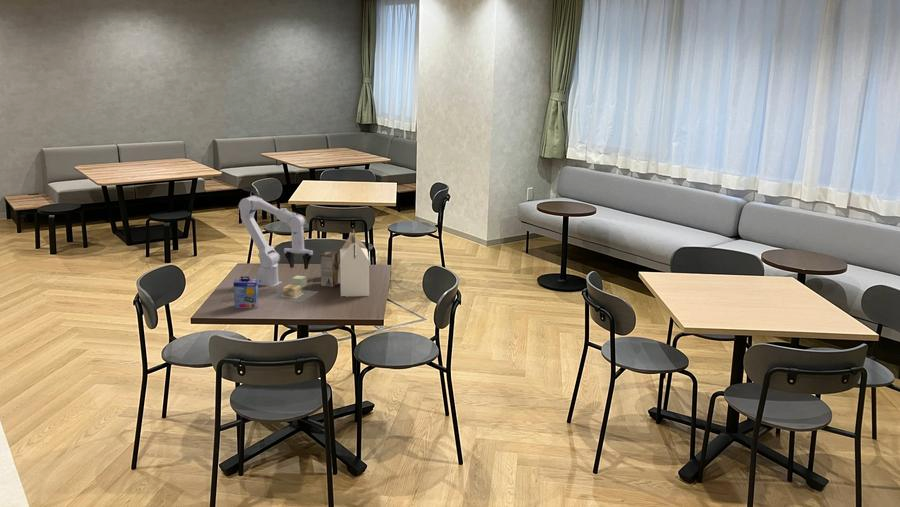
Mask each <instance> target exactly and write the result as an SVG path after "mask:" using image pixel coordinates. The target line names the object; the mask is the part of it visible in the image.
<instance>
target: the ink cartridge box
mask: <svg viewBox="0 0 900 507" xmlns="http://www.w3.org/2000/svg"><path fill="white" fill-rule="evenodd" d="M259 298H260V297H259V285H258V278H250V277H249V275H248V276H247V275H245V276H244V275H243V276H240V278H236V279H234V281H233V300H234V309H258V308H259V307H258V306H259V305H260V299H259Z"/></svg>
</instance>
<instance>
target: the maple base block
mask: <svg viewBox="0 0 900 507" xmlns="http://www.w3.org/2000/svg"><path fill="white" fill-rule="evenodd" d="M282 289H283V296H288V297H297V296H298V295H300V294H301V290H302V288H301V286H300V285H292V283H291V284H287V285H286V286H283V288H282Z"/></svg>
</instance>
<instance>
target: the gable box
mask: <svg viewBox="0 0 900 507" xmlns="http://www.w3.org/2000/svg"><path fill="white" fill-rule="evenodd" d="M339 283H340V297H341V296H345V297H370V258H369V252H368V249H367V247H366V245H365V244H364V243H363V242H362V240H361V239H360V237H359V235H357V234H355V229H352V232H351V231H349V236H348V237H347V239H346V240H345V242H344V244H343V245H342V247H341V248H340V249H339Z"/></svg>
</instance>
